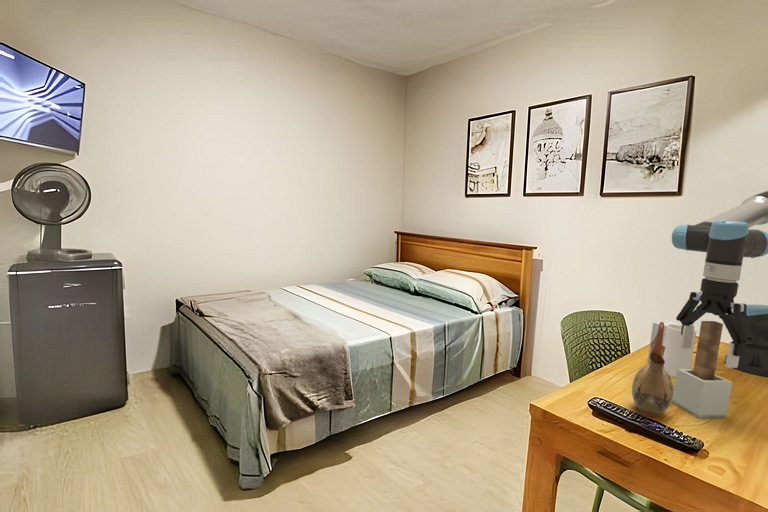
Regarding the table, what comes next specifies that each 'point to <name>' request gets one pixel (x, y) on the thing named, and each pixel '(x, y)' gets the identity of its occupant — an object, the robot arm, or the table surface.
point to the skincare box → (655, 330)
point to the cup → (676, 350)
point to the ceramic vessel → (653, 381)
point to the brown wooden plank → (707, 349)
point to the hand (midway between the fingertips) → (707, 357)
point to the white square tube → (701, 394)
